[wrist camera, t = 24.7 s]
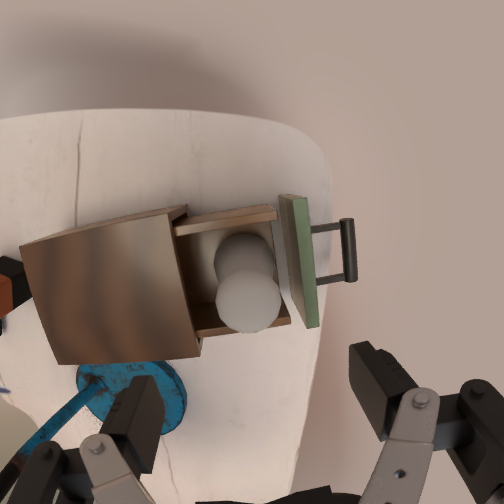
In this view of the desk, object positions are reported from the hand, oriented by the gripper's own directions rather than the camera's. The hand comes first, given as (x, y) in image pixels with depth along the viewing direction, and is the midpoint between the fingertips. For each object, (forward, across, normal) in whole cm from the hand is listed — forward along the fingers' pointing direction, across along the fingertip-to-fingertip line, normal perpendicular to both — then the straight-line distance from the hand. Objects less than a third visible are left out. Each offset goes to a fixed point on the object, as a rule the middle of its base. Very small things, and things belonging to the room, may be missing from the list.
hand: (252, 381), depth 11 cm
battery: (+23, +31, -2) cm, 38 cm away
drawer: (+22, -1, 0) cm, 22 cm away
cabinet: (+23, +13, 0) cm, 26 cm away
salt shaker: (+21, 0, 0) cm, 21 cm away
